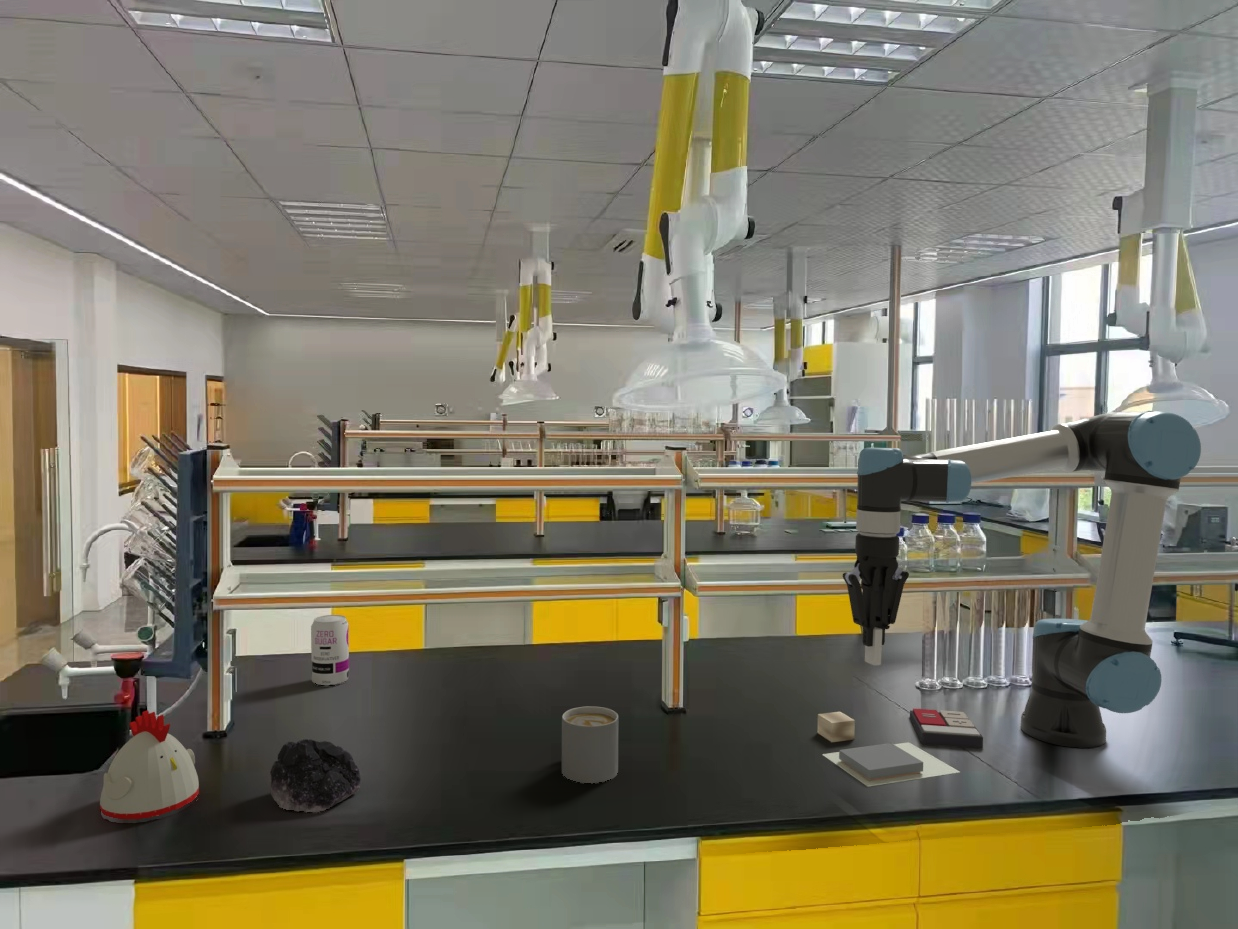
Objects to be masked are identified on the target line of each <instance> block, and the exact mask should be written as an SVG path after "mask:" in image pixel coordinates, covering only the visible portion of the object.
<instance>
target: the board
mask: <svg viewBox="0 0 1238 929" xmlns="http://www.w3.org/2000/svg"><path fill="white" fill-rule="evenodd" d="M893 744H894V743H893ZM894 745H895V746H897V747H899V748H900V749H902V750H904V751H905V752H907V753H909V754H910V755H912V756H914V757H915V758H917V759H919V760H921V761H922V762H923V771H921V772H920V773H917V774H911V775H904V776H897V777H891V778H884V779H878V780H871V781H869V780H868V779H866V778H865V777H863V776H862V775H860V774H859V773H858V772H856V771H855V770H853V769H852V768H850V767H849V766H847V765H846V764H844V763H843V762H842V761H841V760H840V759H839V751H837V752H835V751H834V752H830V753H829V752H828V753H823V754H821V755H822V756H823V757H825V758H826V759H828V760H829V762H831V763H833V764H835V766H837V767H839V768H841V769H842V770H843V771H844V772H846V773H847V774H848V775H851V776H852V777H853V778H855V779H856V780H857V781H858V782H861V784H864V785H865V786H866V787H874V786H881V785H887V784H894V783H902V782H907V781H913V780H919V779H926V778H932V777H940V776H946V775H951V774H960V773H961V771H959V770H957V769H956V768H954V767H952V766H951V765H949V764H947V762H944V761H942V760H940V759H938V758H937V757H936V756H933V755H932V754H930V753H928V752H926V751H924V750H922V749H921V748H919V747H918V746H916V745H914V744H912V743H911V742H902V743H901V742H900V743H895V744H894Z"/></svg>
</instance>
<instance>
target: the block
mask: <svg viewBox="0 0 1238 929" xmlns="http://www.w3.org/2000/svg"><path fill="white" fill-rule="evenodd" d="M855 723H856V720H855V719H854V718H851V717H850V716H848V715H847V714H845V713H843V712H841V711H834V712H824V713H818V714H817V734H818V735H820V736H822V737H823V738H824V739H826V740H828V741H829V742H830V743H836V742H837V743H838V742H844V741H852V740H855V732H856V731H855V730H856V729H855V725H856V724H855Z"/></svg>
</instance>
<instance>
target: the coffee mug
mask: <svg viewBox="0 0 1238 929" xmlns="http://www.w3.org/2000/svg"><path fill="white" fill-rule="evenodd" d="M617 773H619V713H617V711H615V710H612V709H611V708H608V707H603V706H602V707H601V706H588V705H586V706H579V707H574V708H570V709H568V710H566V711H565V712H564V713H563V714H562V716H561V774H563V775H562V776H563V777H564V776H565V777H566V778H567V780H568V779H570V780H573V781H576V782H575V783H577V782H580V783H579V784H584V783H591V785H592V784H593V783H595V784H600V783H599V782H602V783H605V781H606V782H608V781H607V780H609V781H610V779H611V780H613V779H614V778H616V777H617V775H618V774H617ZM565 777H564V778H565ZM566 778H565V779H566ZM570 780H569V781H570ZM573 781H572V782H573Z"/></svg>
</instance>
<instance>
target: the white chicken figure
mask: <svg viewBox="0 0 1238 929" xmlns="http://www.w3.org/2000/svg"><path fill="white" fill-rule="evenodd" d="M141 713H142V714H141V715H138V716H136V717H135V720H134V721H131V722H129V727H130V731H131V734H132V736H133V737H131V738H130V739H129V740H128V741H127V742H126V743H125V744H123V746H122V747H121V748H120V749H119V751H118V752H117V754H116V755H115V757H113V759H112V761H111V763H110V765H109V768H108V771H107V772H105V773H104V774H103V786H102V789H101V794H100V799H99V810H100V809H101V811H102V813H103V814H104V815H106V816H109V817H113V818H118V819H142V818H149V817H153V816H159V815H161V814H164V813H167V812H170V811H172V810H175V809H179V808H181V807H183V806H184V805H186V804H188V803H190V802H192V801H193V800H194V799H195V798H196V797H197V795H198V794H199V795H200V787H199V786H200V784H199V783H200V782H199V776H198V773H197V770H196V767H195V764H196V757H195V753H194V751H193V750H192V749H191V748H186V747H185V746H184V745H183V744H182V743H181V742H180V741H179V739H177V738H176V737H175V736H173V735H172V734H170V733H169V730H170V727H171V723H167V724H165V717H164V714H160V715H158V716H156V712H155V711H151V712H150V711H149V710H148V709H147V710H145V711H142V712H141Z"/></svg>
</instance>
